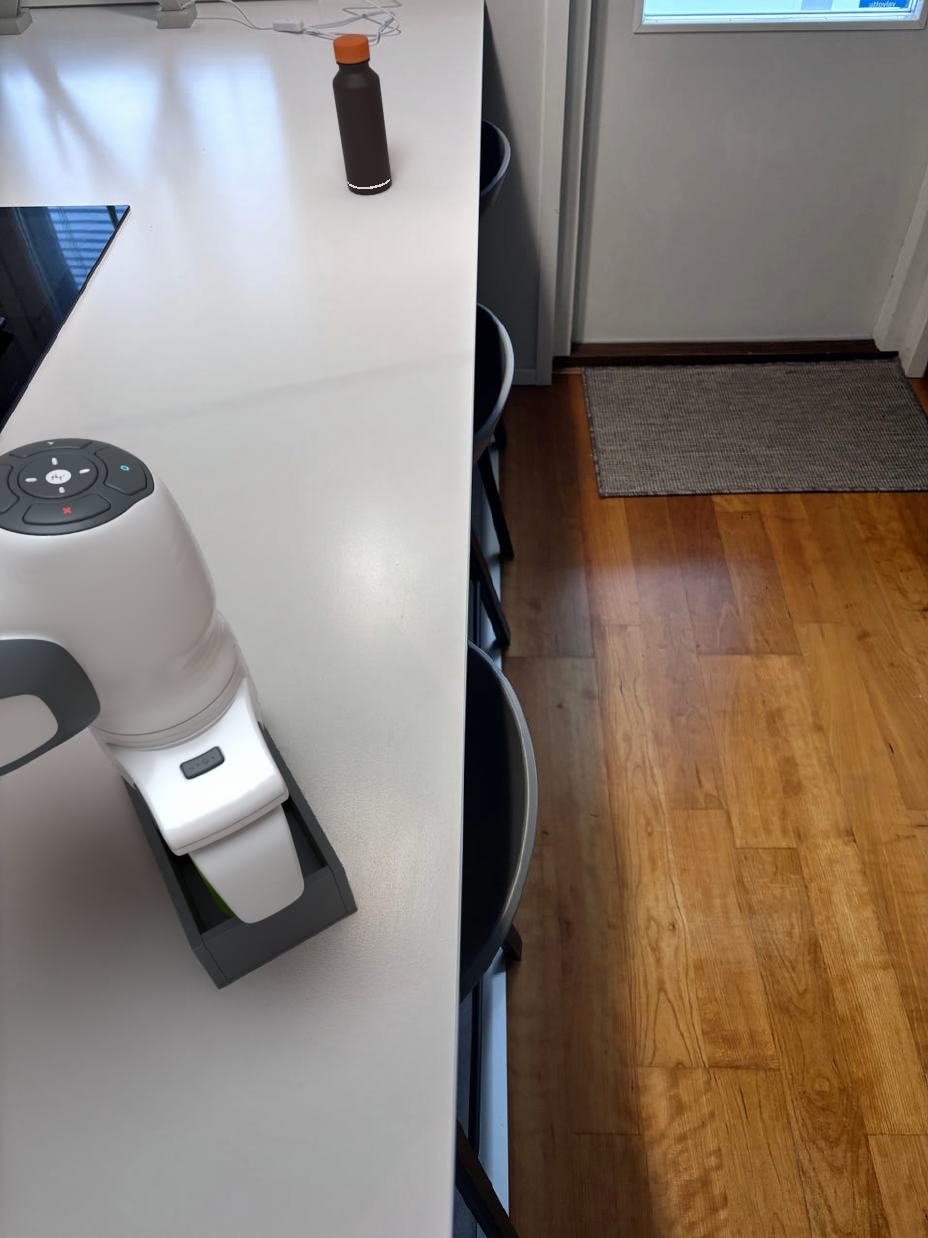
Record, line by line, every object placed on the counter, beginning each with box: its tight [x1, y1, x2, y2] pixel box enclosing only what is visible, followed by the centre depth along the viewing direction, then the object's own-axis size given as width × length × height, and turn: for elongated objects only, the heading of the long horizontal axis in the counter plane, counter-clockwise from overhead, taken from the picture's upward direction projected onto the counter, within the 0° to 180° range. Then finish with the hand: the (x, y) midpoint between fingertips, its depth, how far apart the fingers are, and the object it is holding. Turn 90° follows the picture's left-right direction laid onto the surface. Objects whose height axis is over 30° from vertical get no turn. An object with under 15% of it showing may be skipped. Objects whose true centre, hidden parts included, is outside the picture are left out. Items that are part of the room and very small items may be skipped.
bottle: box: [331, 33, 392, 195], centre depth 138 cm, size 7×7×20 cm
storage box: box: [119, 722, 359, 990], centre depth 70 cm, size 11×20×6 cm, turn 31°
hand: (236, 824), depth 62 cm, fingers open, 7 cm apart
